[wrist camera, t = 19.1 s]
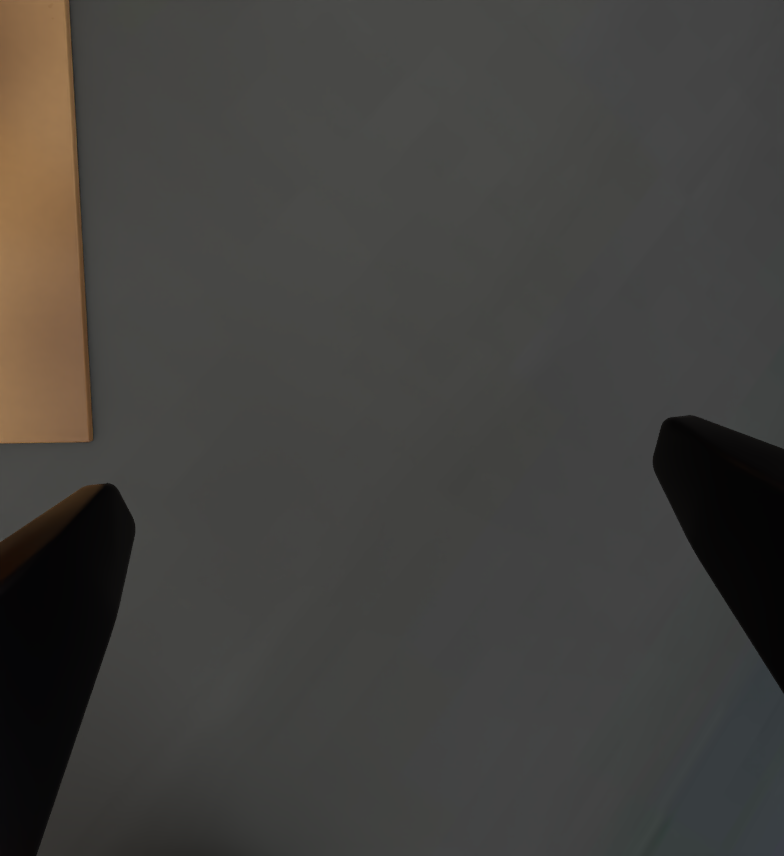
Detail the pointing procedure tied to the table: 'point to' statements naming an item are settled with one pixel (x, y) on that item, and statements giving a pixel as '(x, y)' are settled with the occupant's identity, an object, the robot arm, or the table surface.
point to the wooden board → (40, 232)
